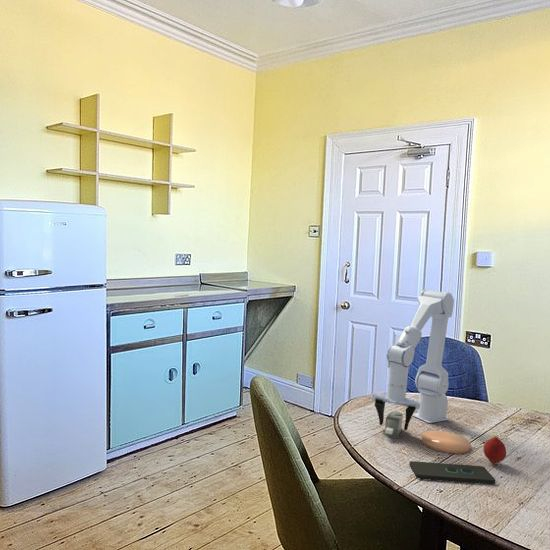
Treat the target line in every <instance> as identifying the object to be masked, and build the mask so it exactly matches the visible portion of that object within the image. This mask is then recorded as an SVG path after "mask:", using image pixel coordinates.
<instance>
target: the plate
mask: <svg viewBox="0 0 550 550" xmlns="http://www.w3.org/2000/svg"><path fill="white" fill-rule="evenodd" d="M421 442H422V444H424V445H425V446H427V447H428V448H430V449H432V450H435V451H438V452H441V453H446V454H447V453H448V454H454V455H455V454H457V455H458V454H459V455H460V454H467V453H468V452H470V451H471V448H472V443H471V442H470V440H468V439H467V438H465V437H463V436H462V435H459V434H457V433H452V432H450V431H444V430H428V431H425V432H423V433H422V434H421Z"/></svg>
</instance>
